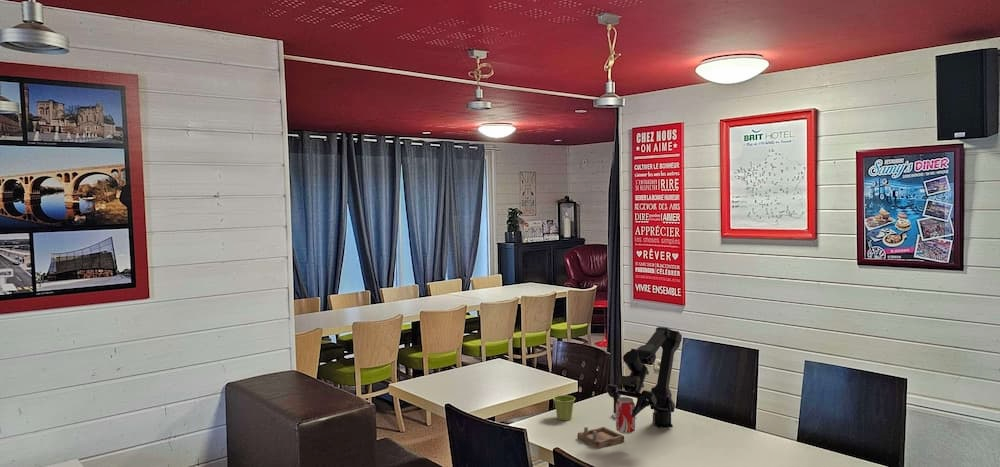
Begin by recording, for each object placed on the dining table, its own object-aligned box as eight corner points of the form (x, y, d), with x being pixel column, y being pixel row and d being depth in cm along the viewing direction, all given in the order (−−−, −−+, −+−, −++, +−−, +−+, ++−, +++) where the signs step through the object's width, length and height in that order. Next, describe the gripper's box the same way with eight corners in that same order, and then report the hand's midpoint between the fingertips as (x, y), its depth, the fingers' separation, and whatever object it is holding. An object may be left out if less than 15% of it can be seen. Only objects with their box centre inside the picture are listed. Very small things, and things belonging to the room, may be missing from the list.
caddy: (603, 432, 253) (603, 419, 253) (624, 441, 242) (624, 428, 242) (577, 438, 246) (577, 425, 246) (597, 448, 236) (597, 435, 236)
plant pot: (549, 416, 272) (549, 396, 272) (568, 413, 276) (567, 393, 276) (560, 423, 264) (560, 402, 263) (579, 420, 268) (579, 399, 267)
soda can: (629, 436, 230) (629, 403, 229) (612, 432, 234) (612, 400, 234) (638, 430, 235) (638, 398, 235) (621, 426, 240) (621, 395, 239)
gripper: (607, 363, 243) (593, 399, 234) (653, 370, 231) (640, 408, 223) (617, 378, 249) (604, 414, 241) (662, 386, 238) (649, 423, 230)
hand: (623, 414), depth 234 cm, fingers closed on soda can, 7 cm apart
